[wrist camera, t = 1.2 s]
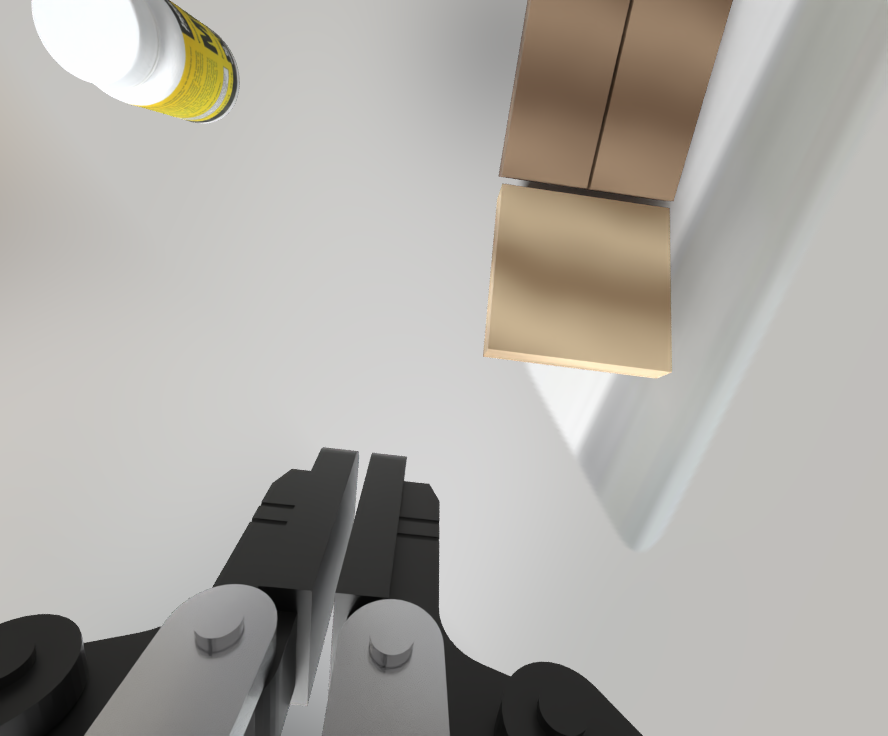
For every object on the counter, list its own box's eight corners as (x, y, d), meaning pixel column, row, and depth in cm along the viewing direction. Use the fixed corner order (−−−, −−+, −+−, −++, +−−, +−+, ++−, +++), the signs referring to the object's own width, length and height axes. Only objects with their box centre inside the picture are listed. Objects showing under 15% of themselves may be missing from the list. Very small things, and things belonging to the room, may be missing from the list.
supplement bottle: (256, 60, 25) (170, -1, 17) (221, 142, 26) (128, 121, 18) (170, 1, 24) (37, -91, 16) (139, 90, 25) (3, 45, 17)
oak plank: (497, 199, 27) (502, 183, 26) (655, 222, 28) (669, 208, 26) (483, 356, 25) (487, 348, 23) (656, 378, 25) (671, 372, 24)
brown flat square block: (532, -31, 23) (538, -46, 22) (717, 1, 24) (736, -12, 22) (498, 176, 27) (502, 175, 25) (660, 200, 27) (673, 201, 26)
